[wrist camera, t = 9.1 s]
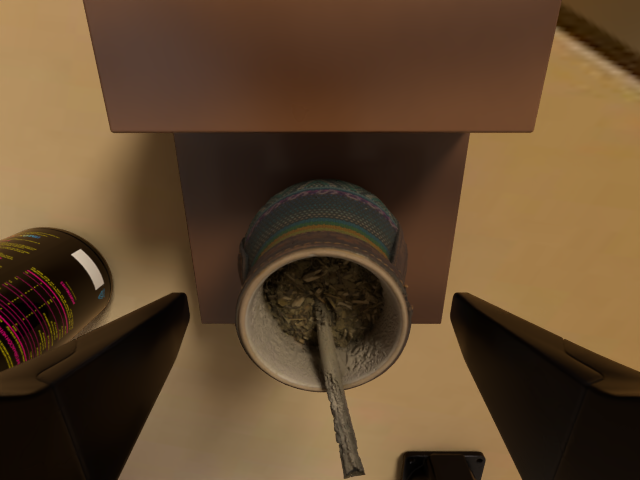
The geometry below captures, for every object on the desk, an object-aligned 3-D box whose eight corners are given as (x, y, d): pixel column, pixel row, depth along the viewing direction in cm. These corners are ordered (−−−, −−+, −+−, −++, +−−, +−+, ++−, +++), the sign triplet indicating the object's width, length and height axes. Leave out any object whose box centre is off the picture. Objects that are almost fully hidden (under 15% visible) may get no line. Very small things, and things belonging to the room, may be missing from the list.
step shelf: (426, 297, 23) (478, 390, 15) (216, 297, 23) (165, 390, 15) (461, 27, 17) (570, -35, 10) (182, 28, 17) (74, -34, 10)
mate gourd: (363, 141, 16) (420, 186, 7) (412, 272, 19) (504, 437, 9) (229, 200, 17) (121, 310, 8) (293, 317, 20) (269, 506, 10)
